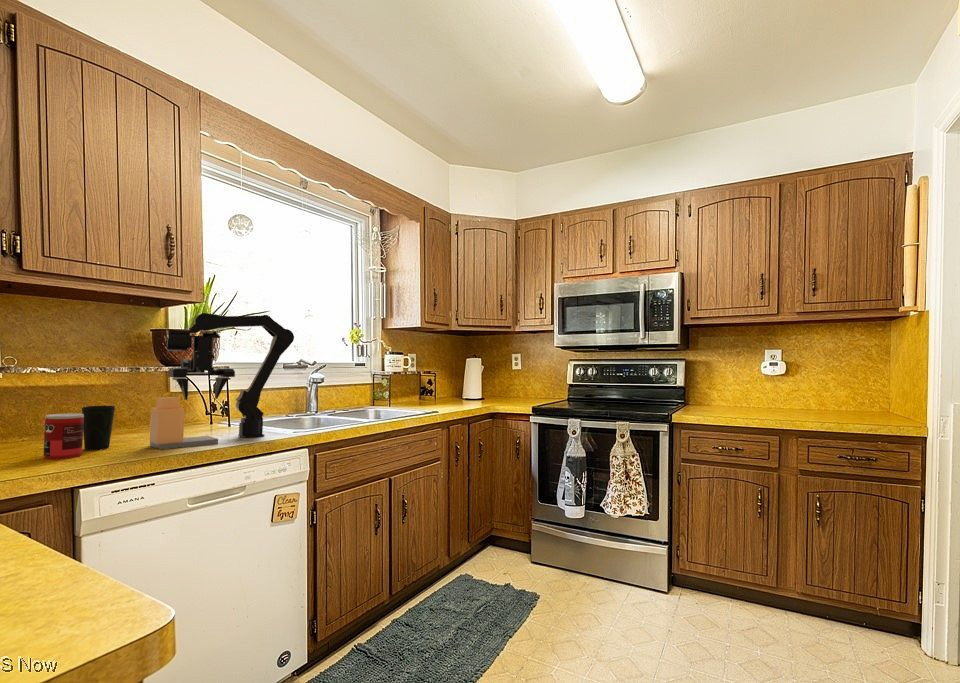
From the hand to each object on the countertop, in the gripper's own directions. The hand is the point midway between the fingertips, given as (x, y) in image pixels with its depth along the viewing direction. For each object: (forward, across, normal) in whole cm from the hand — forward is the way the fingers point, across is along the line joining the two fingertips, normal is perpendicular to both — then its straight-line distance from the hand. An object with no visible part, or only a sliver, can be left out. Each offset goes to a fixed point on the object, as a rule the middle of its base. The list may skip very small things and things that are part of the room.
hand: (201, 399), depth 165 cm
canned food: (+13, +36, +7) cm, 39 cm away
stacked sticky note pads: (+12, +12, +8) cm, 18 cm away
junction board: (+13, +7, +8) cm, 17 cm away
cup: (+13, +27, -1) cm, 30 cm away
